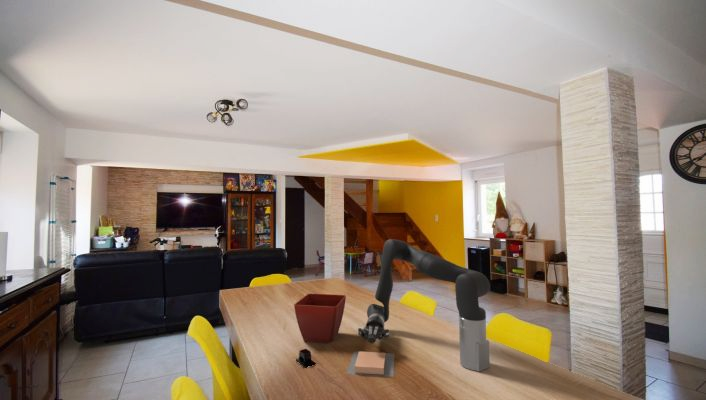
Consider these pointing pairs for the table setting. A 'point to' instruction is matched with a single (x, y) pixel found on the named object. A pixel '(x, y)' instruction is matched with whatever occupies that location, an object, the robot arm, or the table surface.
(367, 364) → the tile
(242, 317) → the table surface
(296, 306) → the plant pot
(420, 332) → the table surface
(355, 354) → the mat
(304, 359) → the black blocky piece
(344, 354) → the table surface
